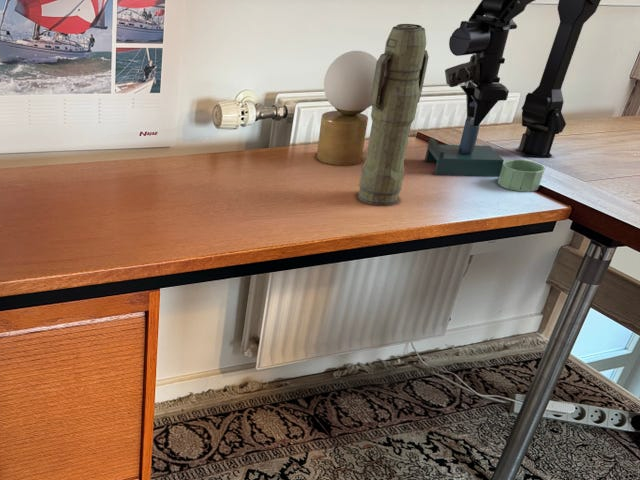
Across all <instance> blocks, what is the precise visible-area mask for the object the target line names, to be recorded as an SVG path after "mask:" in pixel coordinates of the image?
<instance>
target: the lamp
mask: <svg viewBox="0 0 640 480" xmlns="http://www.w3.org/2000/svg"><path fill="white" fill-rule="evenodd" d="M377 61H378V58H376V57H375V56H374V55H373V54H371V53H369V52H367V51H363V50H350V51H347V52H344V53H342V54H341V55H339V56H338V57H336V58H335V59H333V61H332V62H331V63H330V65H329V67H328V68H327V70H326V73H325V75H324V78H323V91H324V96H325V97H326V100H327V101H328V103H329V104H330V105H331V106H332V107H333V108H334V109H335V110H331V111H326V112H324V113H322V114H321V118H320V127H319V135H318V142H317V150H316V151H317V152H316V159H317V160H318V161H320V162H322V163H325V164H327V165H328V164H329V165H334V166H351V165H356V164H360V162H361V161H362V159H363V152H364V147H365V141H366V135H367V130H368V129H367V127H368V123H369V117H368V116H367V115H366V114H365V113H363V112H365V111H366V110H367V109H369V108H370V107H372V106H371V104H370V100H371V94H372V88H373V82H374V76H375V69H376V63H377Z"/></svg>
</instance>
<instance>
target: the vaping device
mask: <svg viewBox="0 0 640 480" xmlns="http://www.w3.org/2000/svg"><path fill="white" fill-rule="evenodd" d="M474 111H475V101H473V102H471V103H470V105H469V109H468V113H467V112H466V118H465V122H464V125H463V129H462V134H461V138H460V142H459V145H460V146H459V150H460V151H461V153H462V154H465V155H471V154H472V153H473V151H474V148H475V145H477V139H478V135H479V131H480V125H481V123H480V124H479V125H478V126H474V125H473V123H474Z"/></svg>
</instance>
